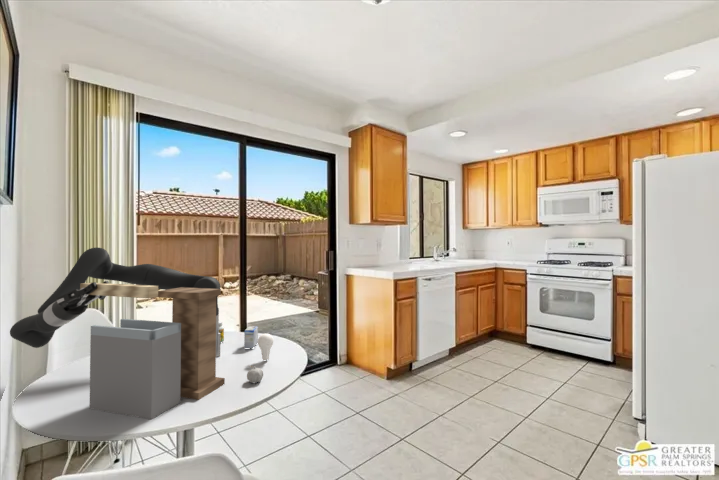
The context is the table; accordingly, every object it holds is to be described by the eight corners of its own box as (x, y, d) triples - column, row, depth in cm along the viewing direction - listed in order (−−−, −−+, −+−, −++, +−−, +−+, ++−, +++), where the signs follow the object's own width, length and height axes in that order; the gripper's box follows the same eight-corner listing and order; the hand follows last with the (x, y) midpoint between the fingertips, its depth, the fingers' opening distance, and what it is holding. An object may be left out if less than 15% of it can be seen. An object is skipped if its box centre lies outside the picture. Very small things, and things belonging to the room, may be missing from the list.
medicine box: (248, 344, 159) (248, 326, 159) (258, 344, 160) (258, 325, 160) (244, 349, 151) (244, 330, 152) (254, 349, 152) (254, 330, 152)
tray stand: (89, 408, 96) (90, 326, 97) (122, 393, 106) (123, 318, 106) (151, 419, 91) (152, 331, 91) (180, 402, 100) (181, 323, 101)
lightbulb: (276, 359, 138) (276, 332, 138) (267, 364, 132) (267, 336, 133) (263, 357, 140) (263, 331, 140) (254, 362, 134) (254, 334, 135)
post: (151, 392, 107) (152, 291, 107) (180, 378, 118) (181, 286, 119) (198, 399, 102) (199, 293, 103) (224, 384, 114) (225, 288, 114)
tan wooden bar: (80, 294, 103) (80, 283, 103) (91, 292, 106) (91, 282, 106) (148, 298, 96) (148, 287, 96) (158, 296, 99) (158, 285, 99)
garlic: (244, 380, 117) (244, 365, 117) (259, 377, 120) (259, 362, 120) (250, 386, 112) (250, 370, 112) (265, 382, 115) (266, 367, 115)
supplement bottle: (222, 340, 166) (222, 320, 167) (224, 342, 162) (225, 322, 162) (210, 341, 163) (210, 322, 164) (212, 344, 159) (213, 324, 159)
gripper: (34, 302, 100) (72, 275, 96) (84, 296, 114) (119, 271, 110) (43, 325, 99) (82, 298, 95) (92, 316, 112) (128, 292, 109)
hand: (101, 284), depth 102 cm, fingers closed on tan wooden bar, 3 cm apart
